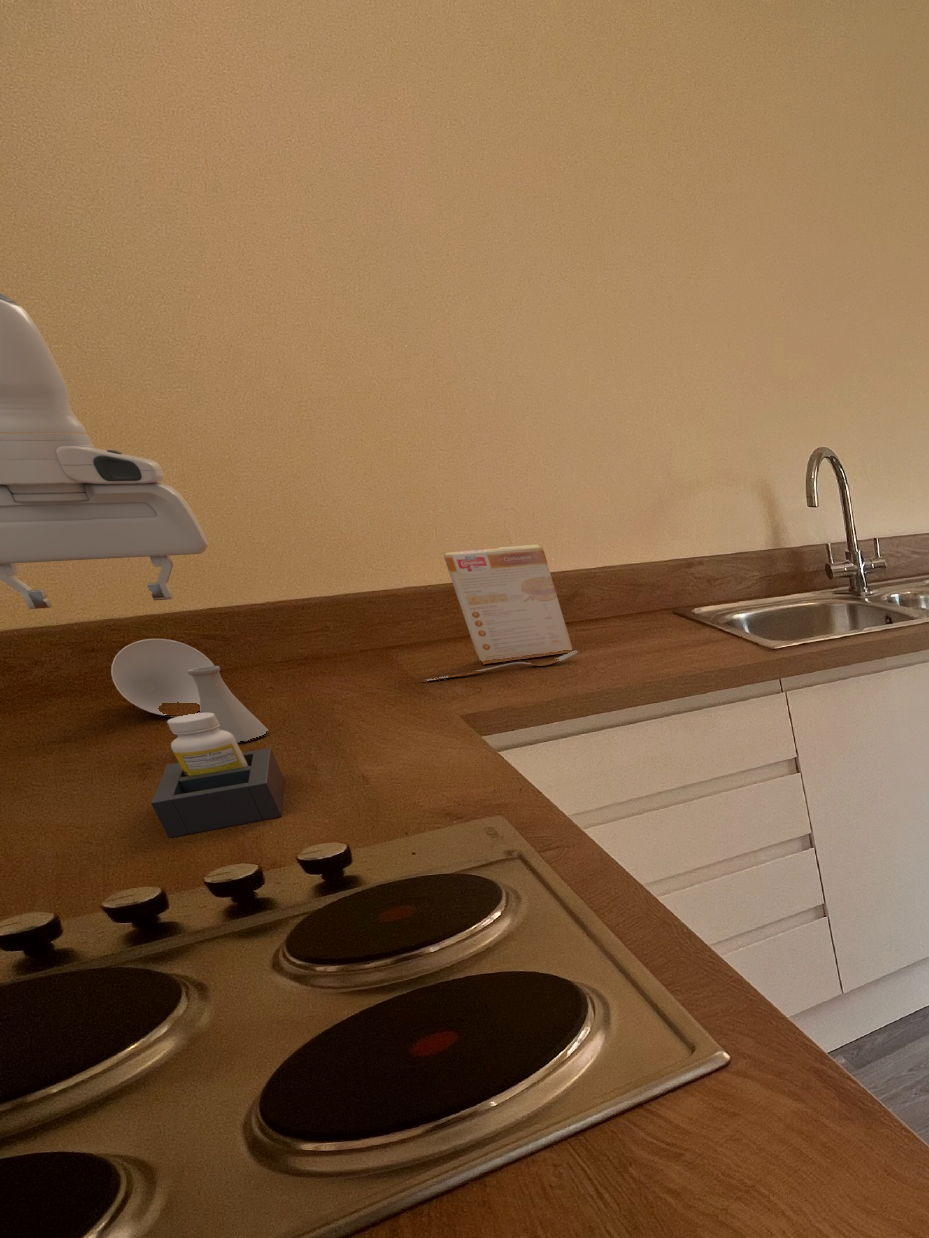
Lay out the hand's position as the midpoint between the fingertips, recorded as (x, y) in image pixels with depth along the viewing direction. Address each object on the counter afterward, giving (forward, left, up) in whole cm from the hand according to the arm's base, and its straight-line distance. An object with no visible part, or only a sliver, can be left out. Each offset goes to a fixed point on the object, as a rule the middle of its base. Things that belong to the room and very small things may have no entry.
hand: (104, 603), depth 103 cm
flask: (+2, +28, -22) cm, 36 cm away
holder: (+3, -8, -22) cm, 24 cm away
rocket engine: (-6, +59, -22) cm, 63 cm away
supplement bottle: (+3, -4, -22) cm, 23 cm away
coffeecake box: (+42, +62, -22) cm, 78 cm away
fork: (+37, +51, -22) cm, 67 cm away
